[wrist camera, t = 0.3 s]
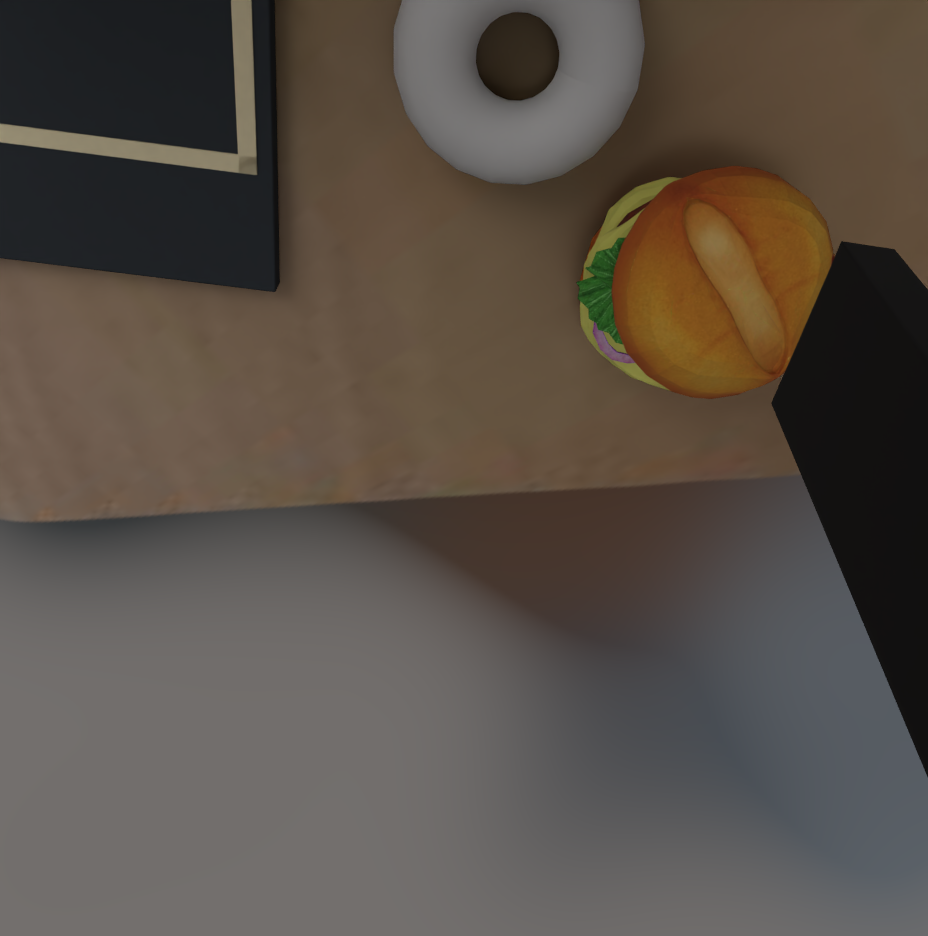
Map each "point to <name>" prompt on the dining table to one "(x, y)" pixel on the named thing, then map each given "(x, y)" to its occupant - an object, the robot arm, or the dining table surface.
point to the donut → (512, 121)
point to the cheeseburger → (705, 280)
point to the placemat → (141, 138)
